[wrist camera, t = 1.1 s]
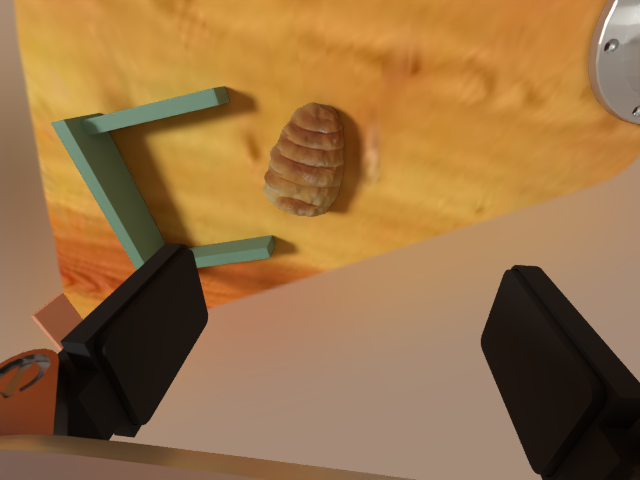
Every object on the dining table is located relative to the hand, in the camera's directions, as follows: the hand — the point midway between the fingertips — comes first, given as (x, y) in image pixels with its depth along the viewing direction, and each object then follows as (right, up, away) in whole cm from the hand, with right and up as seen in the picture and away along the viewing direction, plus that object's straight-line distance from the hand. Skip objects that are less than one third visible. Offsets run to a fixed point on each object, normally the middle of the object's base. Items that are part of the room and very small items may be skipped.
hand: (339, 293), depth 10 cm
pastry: (-2, +9, +19) cm, 21 cm away
